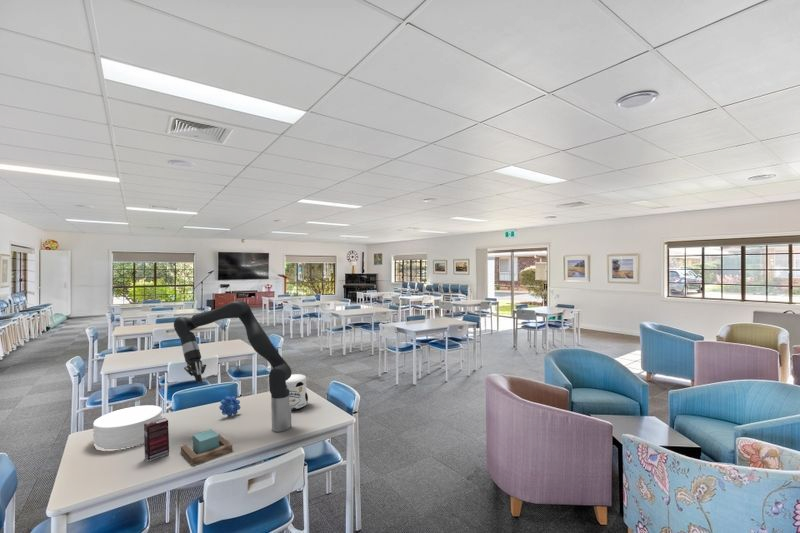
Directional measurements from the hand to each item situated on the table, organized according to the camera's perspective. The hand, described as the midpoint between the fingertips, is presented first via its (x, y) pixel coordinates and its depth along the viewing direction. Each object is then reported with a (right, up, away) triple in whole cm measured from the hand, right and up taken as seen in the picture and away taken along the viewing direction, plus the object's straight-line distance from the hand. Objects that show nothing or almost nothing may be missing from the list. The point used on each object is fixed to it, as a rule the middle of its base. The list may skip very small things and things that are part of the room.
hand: (199, 382), depth 191 cm
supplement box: (-7, -27, -23) cm, 36 cm away
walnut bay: (+14, -26, -20) cm, 36 cm away
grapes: (+7, -26, +21) cm, 34 cm away
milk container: (+39, -26, +34) cm, 58 cm away
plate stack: (-34, -27, -4) cm, 44 cm away
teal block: (+14, -26, -20) cm, 36 cm away
